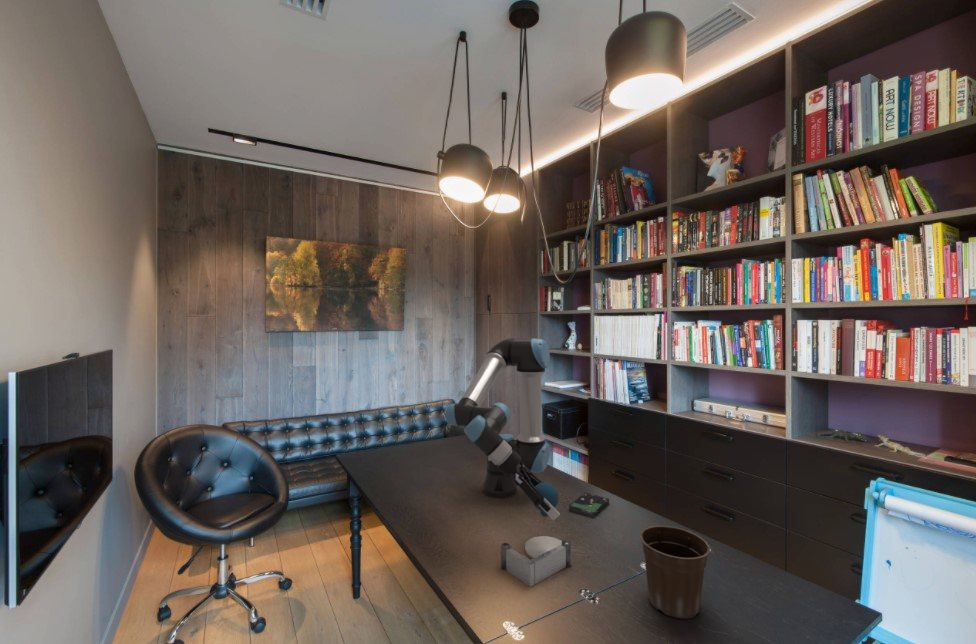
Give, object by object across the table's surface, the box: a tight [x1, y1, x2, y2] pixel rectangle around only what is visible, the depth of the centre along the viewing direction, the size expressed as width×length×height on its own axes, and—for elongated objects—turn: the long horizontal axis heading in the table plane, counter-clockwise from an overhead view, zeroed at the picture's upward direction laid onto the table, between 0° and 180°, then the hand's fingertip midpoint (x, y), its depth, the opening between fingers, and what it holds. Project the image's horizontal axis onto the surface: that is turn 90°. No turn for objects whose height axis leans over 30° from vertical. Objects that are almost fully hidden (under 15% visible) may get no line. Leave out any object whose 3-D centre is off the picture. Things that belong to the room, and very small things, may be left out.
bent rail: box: [500, 539, 572, 588], centre depth 125 cm, size 18×13×6 cm
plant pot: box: [639, 525, 711, 620], centre depth 108 cm, size 16×16×16 cm
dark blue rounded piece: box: [532, 482, 559, 523], centre depth 133 cm, size 8×8×12 cm
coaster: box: [524, 535, 563, 559], centre depth 133 cm, size 13×13×1 cm
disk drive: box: [568, 492, 610, 519], centre depth 163 cm, size 10×3×15 cm
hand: (555, 510), depth 132 cm, fingers closed on dark blue rounded piece, 8 cm apart
